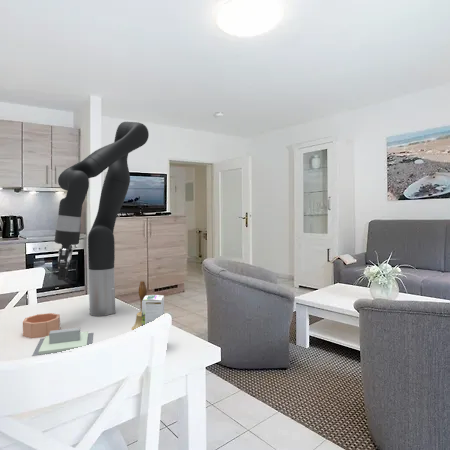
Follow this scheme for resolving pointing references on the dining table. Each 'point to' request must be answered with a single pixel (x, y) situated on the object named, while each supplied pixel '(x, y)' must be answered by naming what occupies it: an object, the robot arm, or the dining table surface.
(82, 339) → the cover sheet
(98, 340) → the dining table surface
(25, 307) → the dining table surface
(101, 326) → the dining table surface
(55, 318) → the bowl
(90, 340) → the mat
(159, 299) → the syrup box
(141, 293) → the hand bell
